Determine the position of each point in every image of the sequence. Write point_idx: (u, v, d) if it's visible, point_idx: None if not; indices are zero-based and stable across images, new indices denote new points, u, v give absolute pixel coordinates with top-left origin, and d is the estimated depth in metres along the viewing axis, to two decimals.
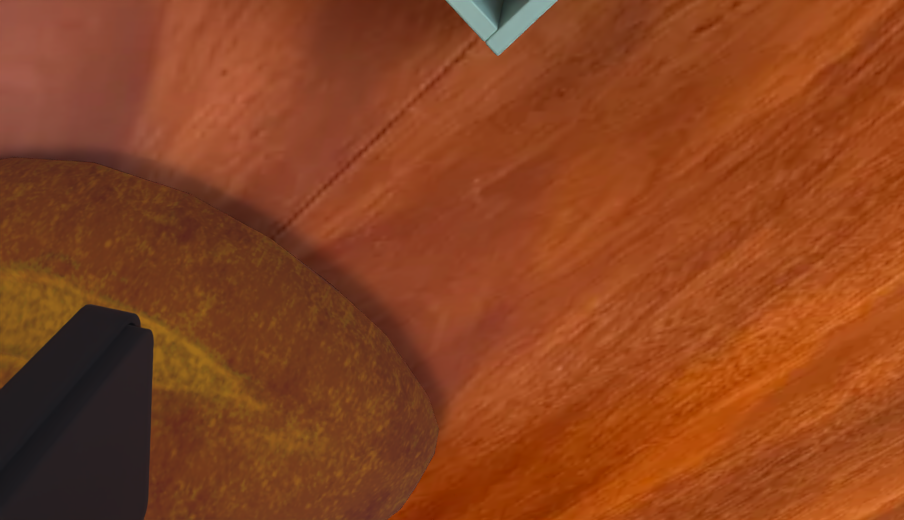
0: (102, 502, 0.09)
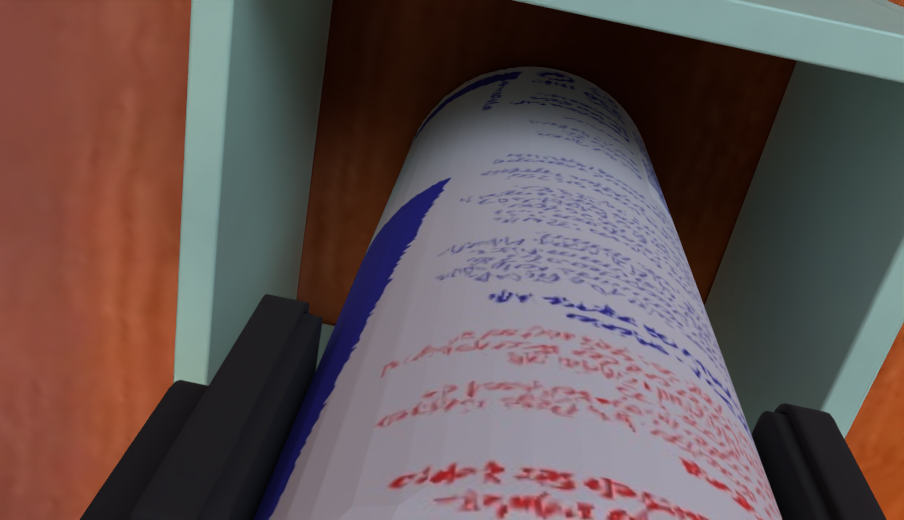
0: None
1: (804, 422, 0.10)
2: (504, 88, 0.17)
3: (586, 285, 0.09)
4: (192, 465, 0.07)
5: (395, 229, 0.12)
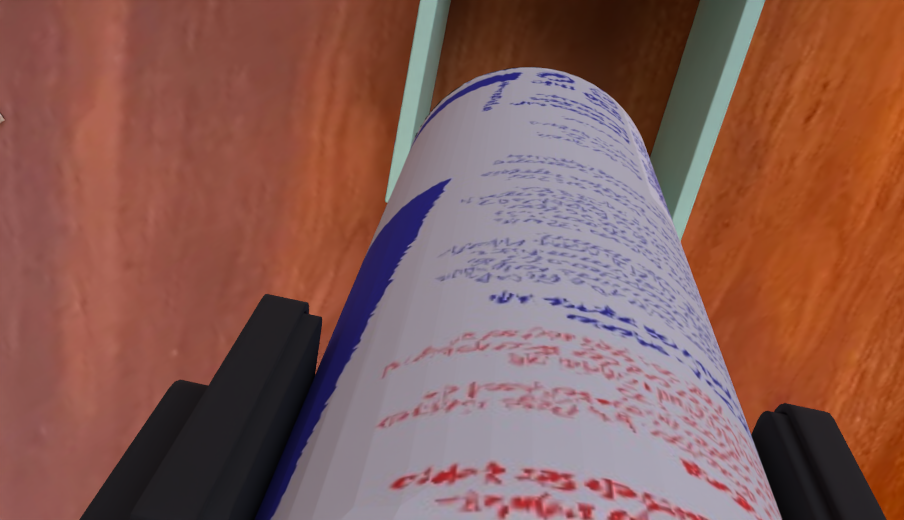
0: None
1: (804, 422, 0.10)
2: (504, 89, 0.17)
3: (587, 286, 0.09)
4: (192, 465, 0.07)
5: (396, 230, 0.12)
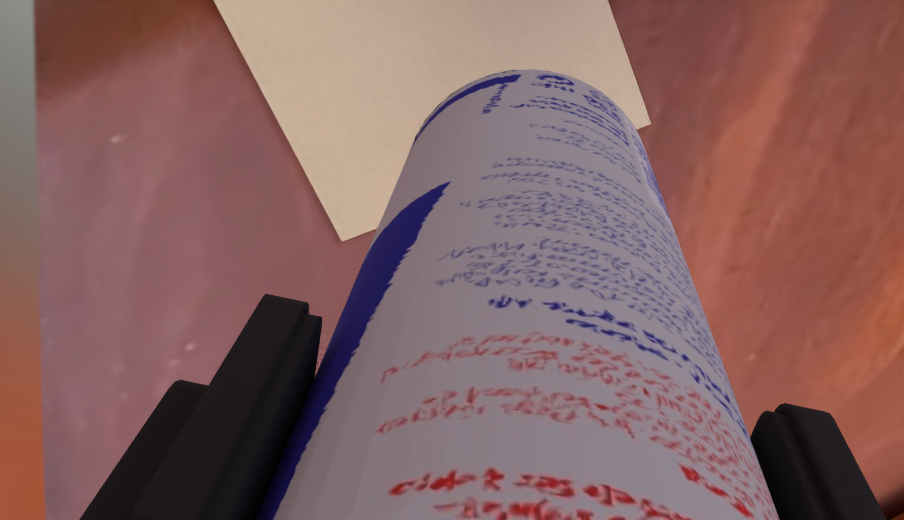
0: None
1: (804, 422, 0.10)
2: (503, 91, 0.17)
3: (586, 291, 0.09)
4: (192, 465, 0.07)
5: (395, 233, 0.12)
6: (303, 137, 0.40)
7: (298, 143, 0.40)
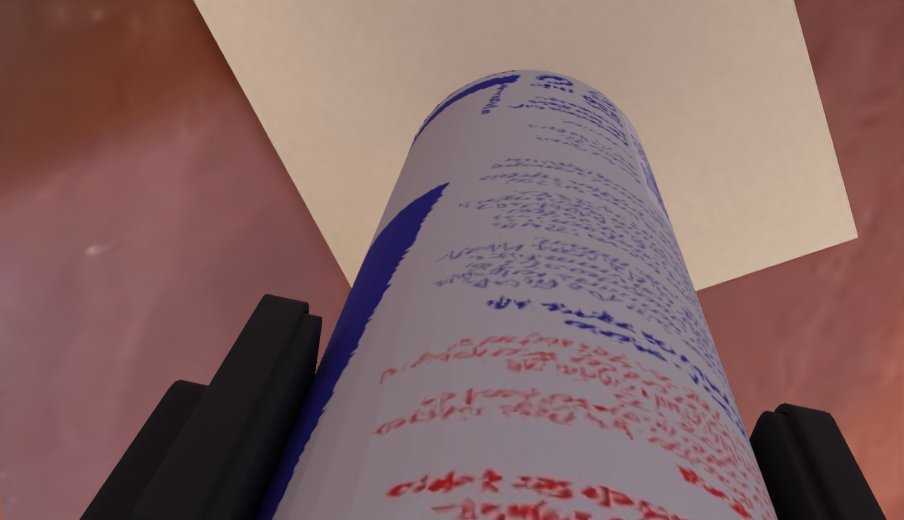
0: None
1: (804, 422, 0.10)
2: (503, 92, 0.17)
3: (585, 292, 0.09)
4: (192, 465, 0.07)
5: (394, 234, 0.12)
6: (355, 251, 0.28)
7: (347, 259, 0.28)
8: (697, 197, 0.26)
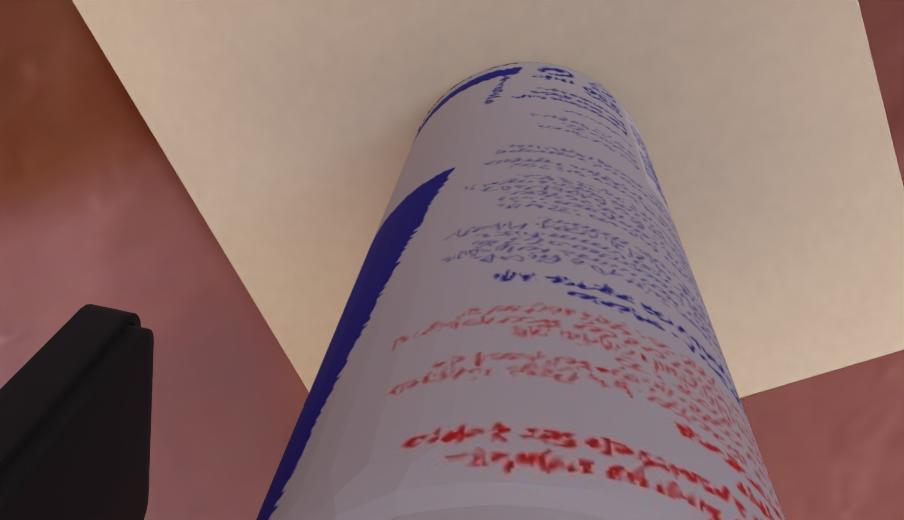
0: (102, 502, 0.09)
1: None
2: (505, 83, 0.17)
3: (586, 267, 0.10)
4: None
5: (402, 217, 0.13)
6: (312, 348, 0.23)
7: (302, 357, 0.23)
8: (738, 288, 0.21)
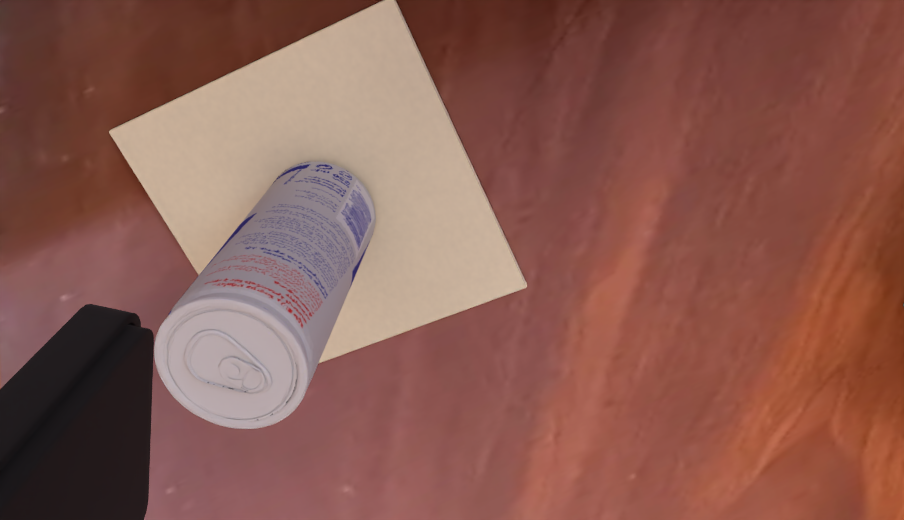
0: (102, 502, 0.09)
1: None
2: (297, 173, 0.40)
3: (275, 245, 0.32)
4: None
5: (235, 231, 0.35)
6: None
7: None
8: (428, 264, 0.44)
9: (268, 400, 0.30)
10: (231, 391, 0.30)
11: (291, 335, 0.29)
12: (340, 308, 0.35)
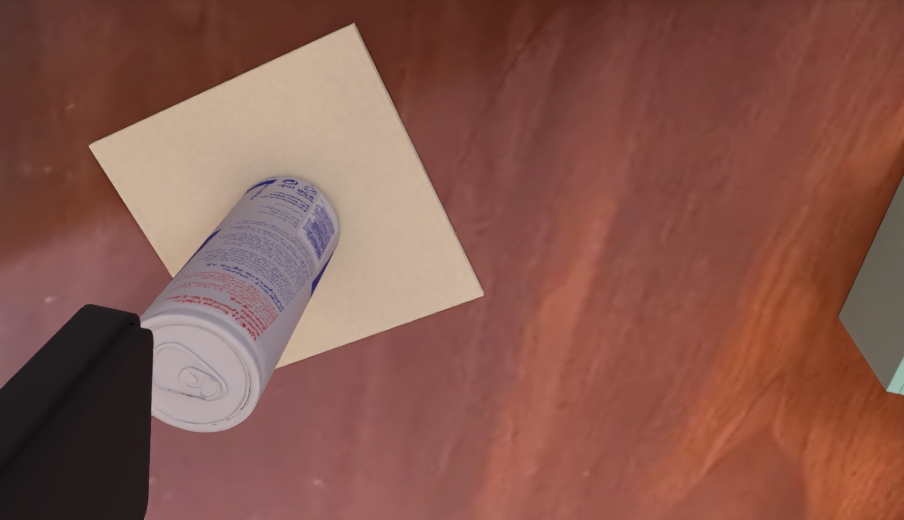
0: (102, 502, 0.09)
1: None
2: (264, 188, 0.42)
3: (234, 261, 0.35)
4: None
5: (201, 245, 0.38)
6: None
7: None
8: (390, 273, 0.46)
9: (225, 406, 0.33)
10: (191, 398, 0.33)
11: (244, 348, 0.31)
12: (298, 319, 0.37)
